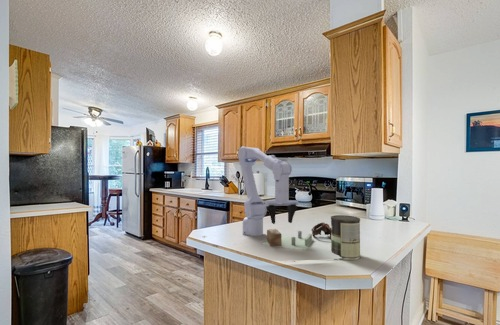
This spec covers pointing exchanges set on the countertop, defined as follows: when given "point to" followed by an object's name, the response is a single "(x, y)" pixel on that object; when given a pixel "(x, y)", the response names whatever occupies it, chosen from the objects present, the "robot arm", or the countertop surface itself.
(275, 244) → the brown block
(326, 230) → the brown clay pot
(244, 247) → the countertop surface
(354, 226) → the coffee can
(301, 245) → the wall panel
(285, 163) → the robot arm
